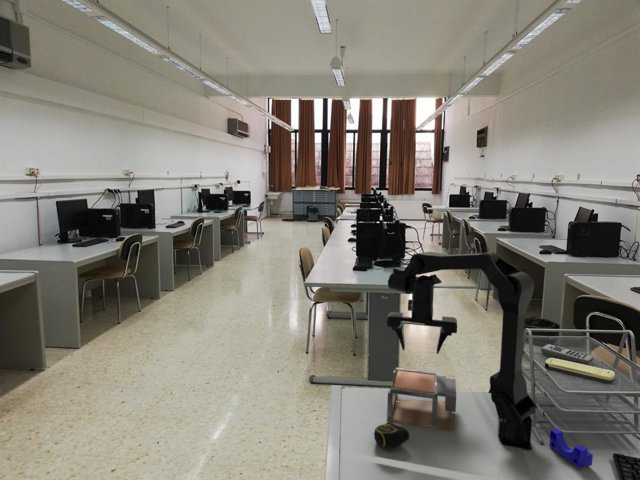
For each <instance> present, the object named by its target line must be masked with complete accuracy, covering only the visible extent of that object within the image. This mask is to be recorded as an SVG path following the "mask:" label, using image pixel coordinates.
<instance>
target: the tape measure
mask: <svg viewBox="0 0 640 480" xmlns="http://www.w3.org/2000/svg"><path fill="white" fill-rule="evenodd" d="M409 433H410V431H409V430H407V429H406V428H404V427H403V426H400V425H398V424H395V423H393V422H391V421H387V423H386V422H385V423H383V424H380V425H378V426H377V427H375V429H374V432H373V435H374V437H373V438H374V440H375V442H376V444H377V445H378V446H380V447H382V448H388V449H389V448H396V447H400V446H401V445H402V444H404V443H405V442H407V441H408V440H409V438H410V434H409Z"/></svg>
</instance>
